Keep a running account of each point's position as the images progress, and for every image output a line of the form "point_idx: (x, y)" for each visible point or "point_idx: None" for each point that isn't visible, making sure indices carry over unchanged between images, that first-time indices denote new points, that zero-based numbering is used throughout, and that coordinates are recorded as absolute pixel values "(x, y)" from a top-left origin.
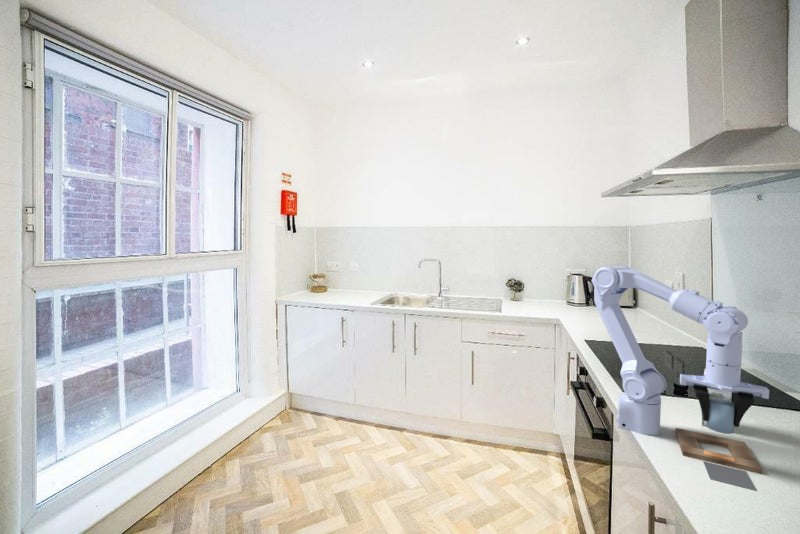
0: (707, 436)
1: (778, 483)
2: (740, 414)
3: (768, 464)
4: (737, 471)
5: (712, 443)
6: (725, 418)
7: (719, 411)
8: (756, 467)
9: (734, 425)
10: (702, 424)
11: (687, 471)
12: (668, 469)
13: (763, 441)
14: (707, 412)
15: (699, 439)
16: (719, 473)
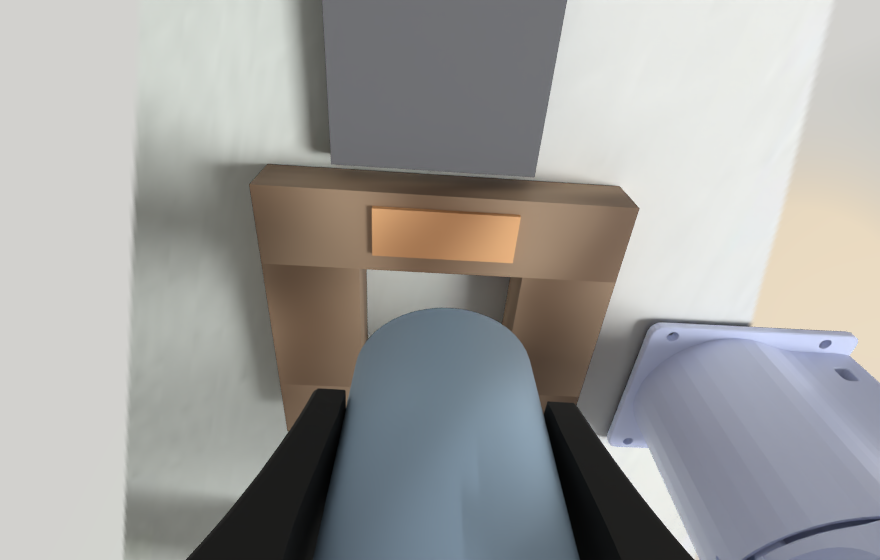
0: None
1: (197, 152)
2: (263, 509)
3: (220, 321)
4: (377, 138)
5: None
6: (430, 423)
7: (497, 497)
8: (274, 192)
9: (343, 399)
10: None
11: (652, 46)
12: (771, 11)
13: (217, 485)
14: (587, 475)
15: None
16: (489, 55)
